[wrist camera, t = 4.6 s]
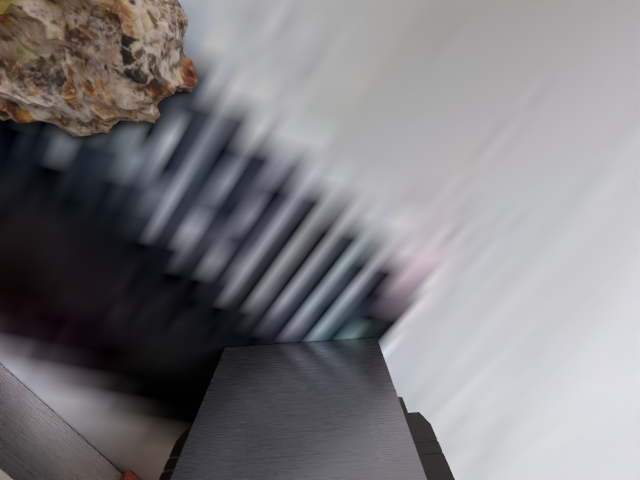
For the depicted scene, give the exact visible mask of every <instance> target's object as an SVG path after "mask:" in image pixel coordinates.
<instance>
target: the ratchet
mask: <svg viewBox="0 0 640 480" xmlns="http://www.w3.org/2000/svg"><path fill="white" fill-rule="evenodd" d="M0 480H139V479H138V478H137V477H136V476H135V475H134V474H133V473H132V472H131V471H130V470H129V471H127V472H126V473H124V474H122V473H121V472H120V471H118V470H117V469H116V468H115V467H114V466H113V465H112V464H111V463H110V462H108V461H107V460H106V459H105V458H104V457H103V456H102V455H101V454H100V453H98V452H97V451H96V450H95V449H94V448H93V447H92V446H91V445H90V444H88V443H87V442H86V441H85V440H84V439H83V438H82V437H81V436H80V435H78V434H77V433H76V432H75V431H74V430H73V429H72V428H71V427H70V426H68V425H67V424H66V423H65V422H64V421H63V420H62V419H61V418H60V417H58V416H57V415H56V414H55V413H54V412H53V411H52V410H51V409H50V408H48V407H47V406H46V405H45V404H44V403H43V402H42V401H41V400H39V399H38V398H37V397H36V396H35V395H34V394H33V393H32V392H31V391H29V390H28V389H27V388H26V387H25V386H24V385H23V384H22V383H21V382H19V381H18V380H17V379H16V378H15V377H14V376H13V375H12V374H11V373H9V372H8V371H7V370H6V369H5V368H4V367H3V366H2V365H1V364H0Z"/></svg>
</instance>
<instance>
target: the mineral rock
mask: <svg viewBox="0 0 640 480" xmlns="http://www.w3.org/2000/svg"><path fill="white" fill-rule="evenodd" d="M187 27H188V23H187V17H186V15H185V13H184V11H183V9H182V8H181V6H180V4H179V2H178V1H177V0H0V119H1V120H3V121H4V120H7V119H12V120H13V121H15V122H17V123H19V124H23V123H27V122H36V121H44V122H48V123H53V124H56V125H57V126H59V127H60V128H61V129H63V130H64V131H66V132H67V133H68V134H70V135H72V136H73V137H77V136H86V135H93V134H97V133H100V132H104V133H109V131H110V130H111V128H112V127H113V125H114V124H116V123H118V122H119V120H122V121H134V122H137V123H138V122H141V121H148V122H151V123H155V120H157V119H158V118H159V117H160V116H161V115H160V113H159V110H158V104H159V103H160V101H161V100H162V99H163V98H165V97H168V96H171V95H174V93H175V91H179V92H182V90H184V91H187V92H190V93H191V91H192V89H193V88H195V87H196V84H197V76H196V73H195V70H194V66H193V63H192V61H191V60H190V59H189V58H188V57H187V56H186V55H185V54H184V53H183V46H182V39H183V35H184V33H185V31H186V29H187Z"/></svg>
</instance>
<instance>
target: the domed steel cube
mask: <svg viewBox="0 0 640 480" xmlns="http://www.w3.org/2000/svg"><path fill="white" fill-rule="evenodd" d="M170 480H427V478H426V475H425V472H424V470H423V467H422V464H421V461H420V458H419V456H418V453H417V450H416V447H415V444H414V442H413V439H412V436H411V433H410V430H409V427H408V425H407V422H406V419H405V416H404V413H403V411H402V408H401V405H400V402H399V399H398V396H397V394H396V391H395V388H394V385H393V382H392V380H391V377H390V374H389V371H388V368H387V365H386V363H385V360H384V357H383V354H382V351H381V349H380V346H379V343H378V340H377V338H364V339H348V340H333V341H317V342H302V343H287V344H271V345H256V346H240V347H225V349H224V351H223V354H222V356H221V358H220V361H219V363H218V366H217V368H216V370H215V373H214V375H213V378H212V380H211V382H210V385H209V387H208V390H207V392H206V394H205V397H204V399H203V402H202V404H201V406H200V409H199V411H198V414H197V416H196V418H195V421H194V423H193V426H192V428H191V430H190V433H189V435H188V438H187V440H186V442H185V445H184V447H183V450H182V452H181V454H180V457H179V459H178V462H177V464H176V466H175V469H174V471H173V474H172V476H171V478H170Z"/></svg>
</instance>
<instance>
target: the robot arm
mask: <svg viewBox="0 0 640 480" xmlns="http://www.w3.org/2000/svg"><path fill="white" fill-rule="evenodd" d="M398 399H399V402H400V405H401V408H402V411H403V413H404V416H405V419H406V422H407V425H408V427H409V430H410V433H411V436H412V439H413V442H414V444H415V447H416V450H417V453H418V456H419V458H420V461H421V464H422V467H423V470H424V472H425V475H426V478H427V480H455V479H454V477H453V475H452V472H451V470H450V468H449V465H448V463H447V461H446V459H445V456H444V454H443V453H442V449H441V447H440V445H439V443H438V441H437V438H436V436H435V433H434V431H433V429H432V427H431V424H430V423H429V422H428V421H427V420H426V419H425V418H424V417H423V416H422V415H421V414H420V413H419V412H415V413H408V412H407V409H406V406H405V404H404V401H403V399H402V397H398ZM191 428H192V427H188V428H187V430H186V431H185V432H184V433H183V434H182V435H181V436H180V438H179V439H178V440H177V441H176V443H175V445H174V447H173V450H172V452H171V454H170V458H169V459H168V461H167V463H166V465H165V467H164V472H163V473H162V474H161V476H160V479H159V480H170V478H171V476H172V474H173V471H174V469H175V466H176V464H177V462H178V459H179V457H180V454H181V452H182V450H183V447H184V445H185V442H186V440H187V438H188V435H189V433H190V430H191Z"/></svg>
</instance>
